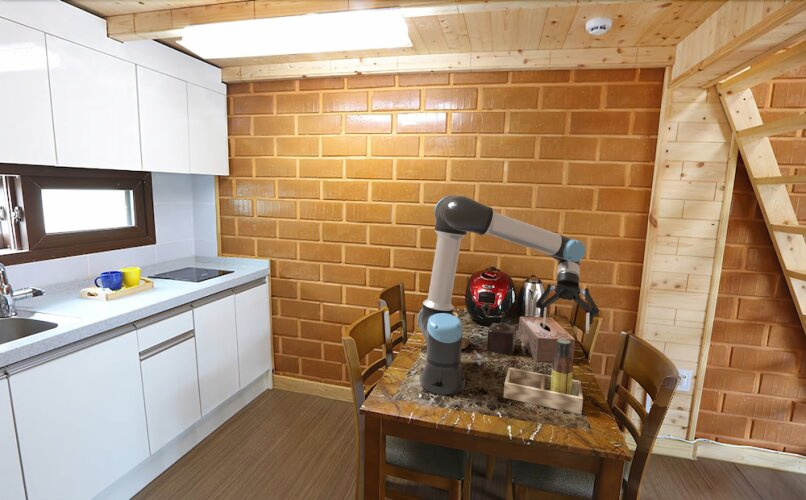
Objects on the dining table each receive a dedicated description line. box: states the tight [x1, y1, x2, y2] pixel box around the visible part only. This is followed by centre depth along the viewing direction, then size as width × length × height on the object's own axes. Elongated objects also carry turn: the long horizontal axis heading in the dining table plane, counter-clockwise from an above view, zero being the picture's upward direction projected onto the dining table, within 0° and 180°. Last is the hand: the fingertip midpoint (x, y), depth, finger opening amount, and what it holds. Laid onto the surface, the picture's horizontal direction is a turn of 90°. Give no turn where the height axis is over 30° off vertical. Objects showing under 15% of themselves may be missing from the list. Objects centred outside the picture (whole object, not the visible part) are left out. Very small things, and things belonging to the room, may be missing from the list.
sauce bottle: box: [551, 339, 574, 395], centre depth 120 cm, size 6×6×20 cm
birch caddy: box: [503, 367, 584, 415], centre depth 123 cm, size 23×12×5 cm, turn 68°
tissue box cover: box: [517, 316, 576, 364], centre depth 161 cm, size 26×14×10 cm, turn 178°
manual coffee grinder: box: [481, 302, 517, 356], centre depth 160 cm, size 16×11×18 cm
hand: (565, 328), depth 127 cm, fingers open, 13 cm apart
